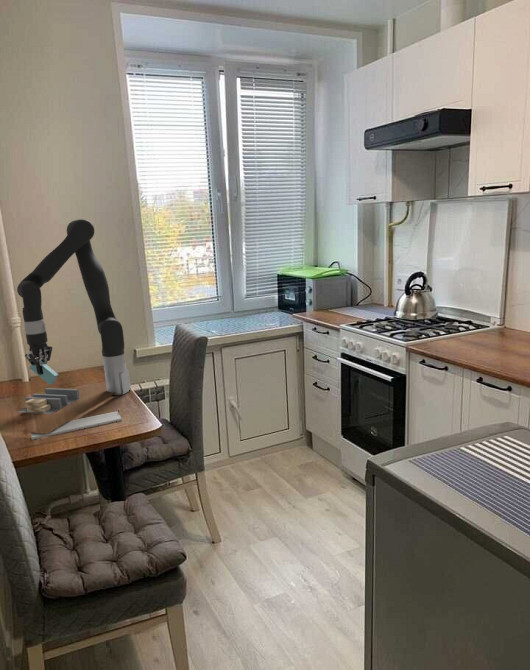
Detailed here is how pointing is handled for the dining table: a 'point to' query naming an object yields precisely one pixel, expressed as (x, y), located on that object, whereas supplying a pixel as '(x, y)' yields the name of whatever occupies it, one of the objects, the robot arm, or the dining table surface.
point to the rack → (55, 399)
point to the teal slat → (46, 373)
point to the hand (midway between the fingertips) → (42, 373)
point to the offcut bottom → (42, 409)
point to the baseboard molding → (81, 424)
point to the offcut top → (35, 403)
